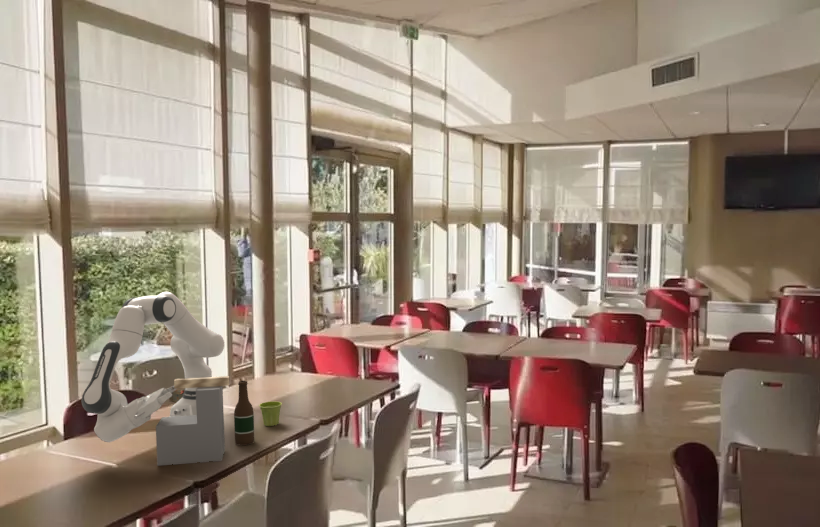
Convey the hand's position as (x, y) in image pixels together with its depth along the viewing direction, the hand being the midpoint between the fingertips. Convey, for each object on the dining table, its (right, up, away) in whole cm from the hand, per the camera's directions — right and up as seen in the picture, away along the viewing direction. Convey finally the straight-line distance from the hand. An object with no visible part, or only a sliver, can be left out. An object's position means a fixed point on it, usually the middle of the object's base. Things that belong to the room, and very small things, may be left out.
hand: (173, 390), depth 250 cm
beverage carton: (-21, -21, +82) cm, 88 cm away
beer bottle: (+21, -24, +19) cm, 37 cm away
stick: (+10, +1, +2) cm, 10 cm away
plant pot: (+27, -22, +43) cm, 55 cm away
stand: (+6, -25, +2) cm, 26 cm away
